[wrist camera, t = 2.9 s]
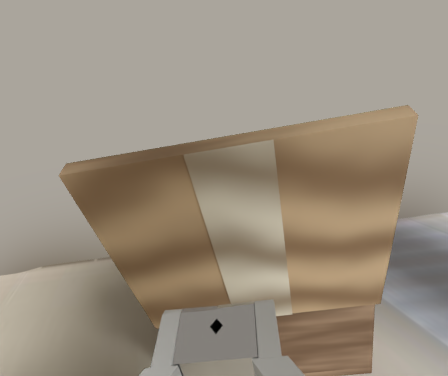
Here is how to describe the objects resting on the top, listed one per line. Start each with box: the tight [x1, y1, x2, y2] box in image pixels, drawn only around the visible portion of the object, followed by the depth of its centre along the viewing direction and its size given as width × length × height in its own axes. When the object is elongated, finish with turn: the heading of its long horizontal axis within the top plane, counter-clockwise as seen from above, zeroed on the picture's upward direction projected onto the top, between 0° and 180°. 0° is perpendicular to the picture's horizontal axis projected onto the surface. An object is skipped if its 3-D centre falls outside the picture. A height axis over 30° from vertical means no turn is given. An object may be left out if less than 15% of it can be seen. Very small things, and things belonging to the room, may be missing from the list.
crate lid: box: [59, 105, 418, 328], centre depth 24 cm, size 18×20×1 cm
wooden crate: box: [276, 304, 375, 376], centre depth 41 cm, size 18×20×12 cm
